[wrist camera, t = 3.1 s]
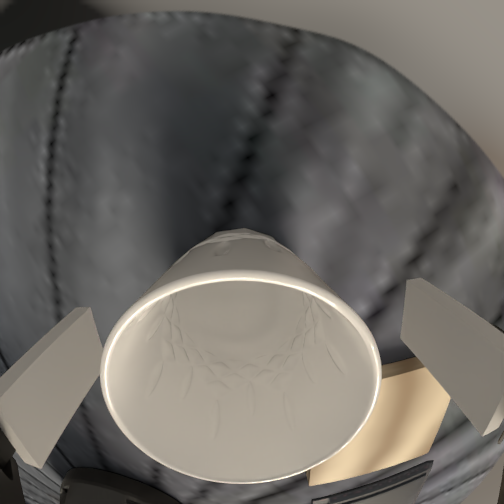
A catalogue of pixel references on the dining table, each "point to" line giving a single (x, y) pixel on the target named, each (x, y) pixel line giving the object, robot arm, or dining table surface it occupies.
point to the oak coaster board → (391, 424)
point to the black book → (385, 489)
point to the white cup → (240, 364)
